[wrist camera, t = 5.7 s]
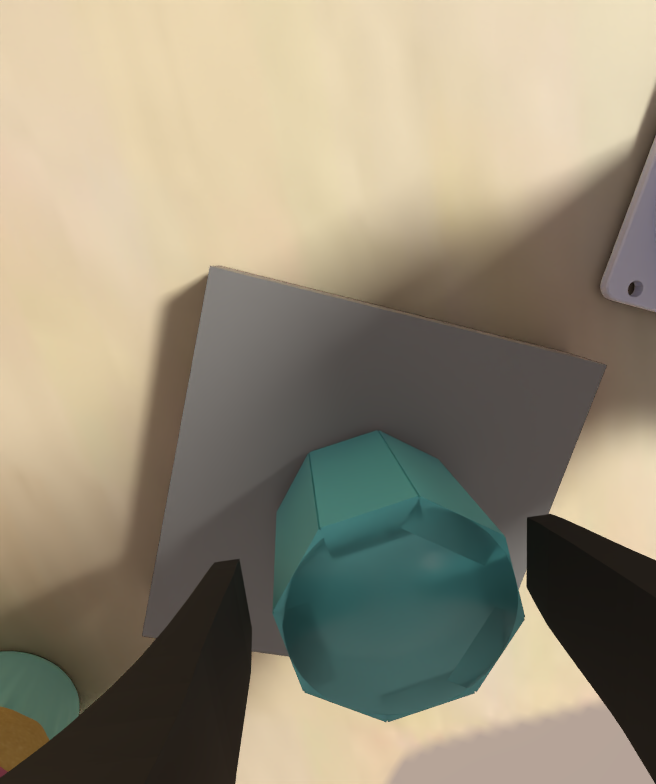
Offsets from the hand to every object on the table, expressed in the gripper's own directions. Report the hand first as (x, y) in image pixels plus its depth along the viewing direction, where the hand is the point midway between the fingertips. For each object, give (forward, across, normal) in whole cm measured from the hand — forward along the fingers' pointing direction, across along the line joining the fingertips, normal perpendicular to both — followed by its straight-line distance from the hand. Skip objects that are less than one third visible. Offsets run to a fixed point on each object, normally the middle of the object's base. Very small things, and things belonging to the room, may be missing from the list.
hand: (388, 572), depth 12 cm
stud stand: (+5, 0, 0) cm, 5 cm away
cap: (+3, 0, 0) cm, 3 cm away
